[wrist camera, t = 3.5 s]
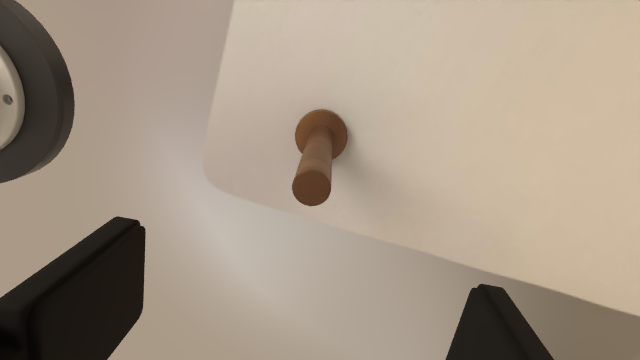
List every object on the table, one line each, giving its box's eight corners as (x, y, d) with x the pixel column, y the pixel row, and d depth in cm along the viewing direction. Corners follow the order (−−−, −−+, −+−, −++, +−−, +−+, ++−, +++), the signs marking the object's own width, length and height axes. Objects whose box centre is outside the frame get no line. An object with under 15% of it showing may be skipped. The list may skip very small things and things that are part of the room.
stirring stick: (292, 154, 33) (263, 219, 20) (300, 105, 32) (274, 139, 18) (341, 163, 33) (345, 234, 20) (351, 114, 32) (362, 155, 18)
